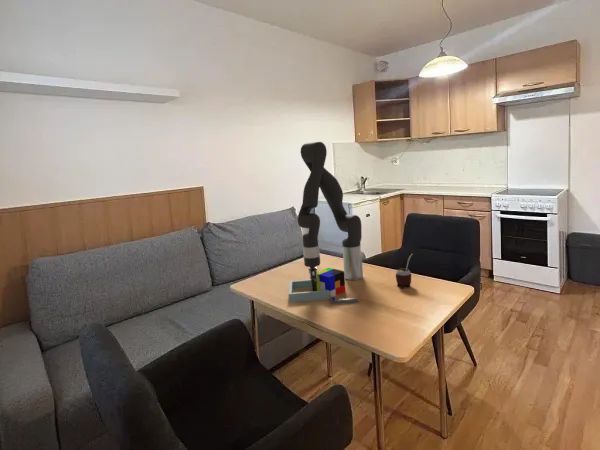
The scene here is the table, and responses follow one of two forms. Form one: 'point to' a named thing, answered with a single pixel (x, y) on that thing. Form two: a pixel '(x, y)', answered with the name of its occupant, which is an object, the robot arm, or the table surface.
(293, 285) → the grey-blue flat square frame
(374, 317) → the table surface
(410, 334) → the table surface
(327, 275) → the puzzle toy
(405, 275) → the mate gourd
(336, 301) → the crook tool
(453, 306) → the table surface
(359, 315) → the table surface
